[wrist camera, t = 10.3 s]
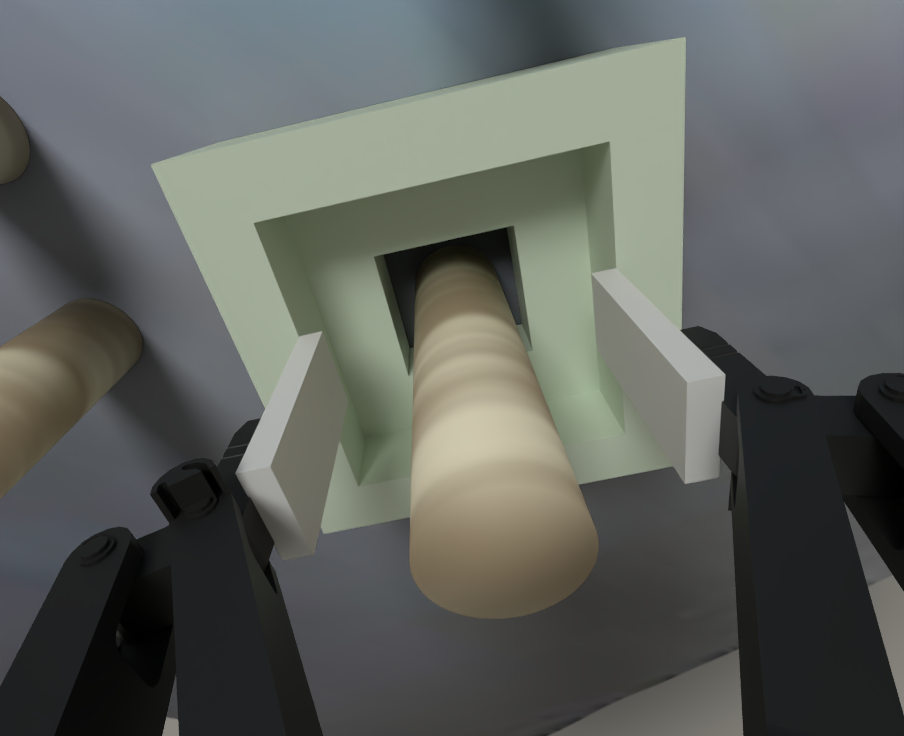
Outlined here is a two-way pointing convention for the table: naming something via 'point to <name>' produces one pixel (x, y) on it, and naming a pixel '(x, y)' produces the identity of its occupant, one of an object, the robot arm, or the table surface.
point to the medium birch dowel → (58, 378)
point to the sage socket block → (444, 218)
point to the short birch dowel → (12, 144)
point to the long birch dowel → (486, 455)
